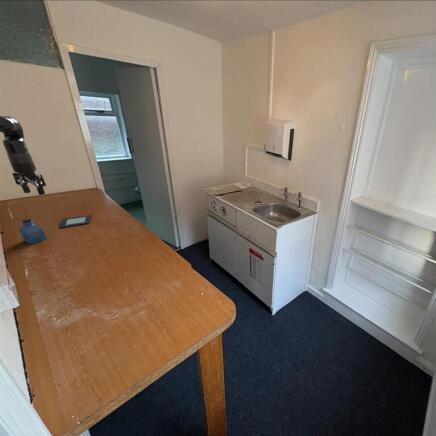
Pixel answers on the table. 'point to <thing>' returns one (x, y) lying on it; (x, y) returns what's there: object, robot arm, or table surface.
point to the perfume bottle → (31, 231)
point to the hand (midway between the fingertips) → (35, 193)
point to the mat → (75, 221)
